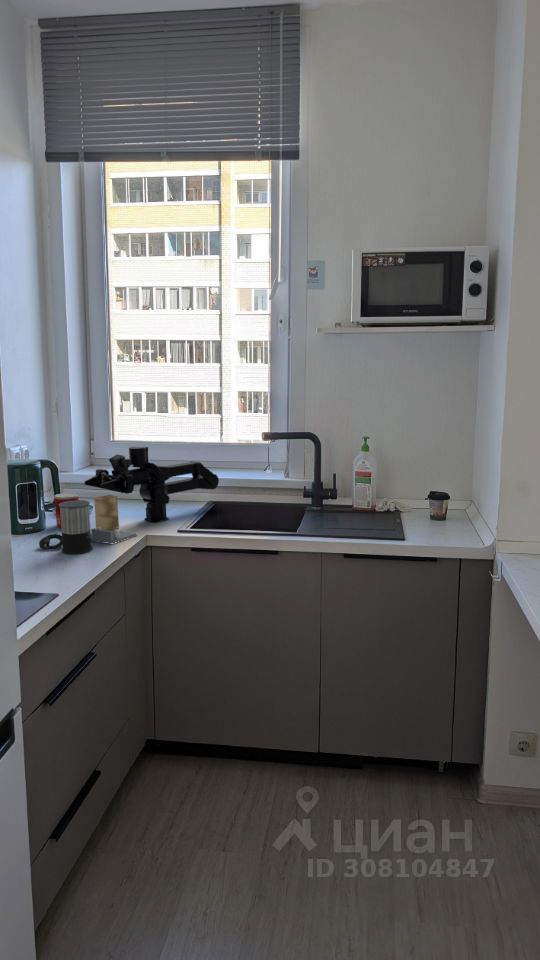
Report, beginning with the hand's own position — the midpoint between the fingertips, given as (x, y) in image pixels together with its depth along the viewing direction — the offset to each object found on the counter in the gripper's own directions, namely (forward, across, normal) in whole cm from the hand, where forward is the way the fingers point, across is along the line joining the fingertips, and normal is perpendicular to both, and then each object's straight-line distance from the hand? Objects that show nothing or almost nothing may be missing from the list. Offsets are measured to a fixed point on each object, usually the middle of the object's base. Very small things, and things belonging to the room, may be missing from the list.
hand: (92, 484), depth 245 cm
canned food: (+1, -16, +17) cm, 23 cm away
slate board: (0, +10, +17) cm, 19 cm away
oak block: (-4, +1, +17) cm, 17 cm away
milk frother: (+17, +10, +17) cm, 26 cm away
